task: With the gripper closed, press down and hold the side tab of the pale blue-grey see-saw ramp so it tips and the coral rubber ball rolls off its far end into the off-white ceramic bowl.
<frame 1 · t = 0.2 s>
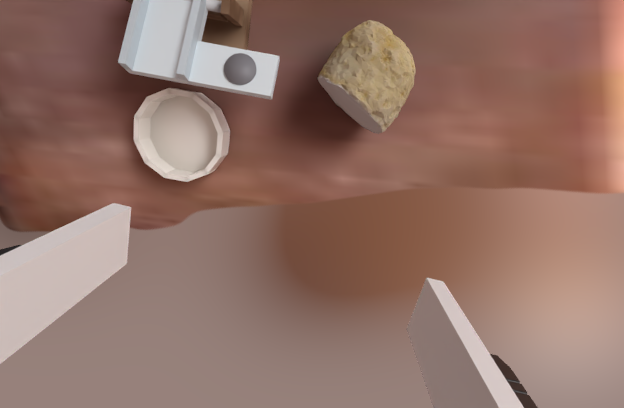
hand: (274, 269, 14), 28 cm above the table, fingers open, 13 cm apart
bowl: (188, 134, 41), on the table
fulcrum: (196, 12, 37), on the table
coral: (365, 83, 38), on the table
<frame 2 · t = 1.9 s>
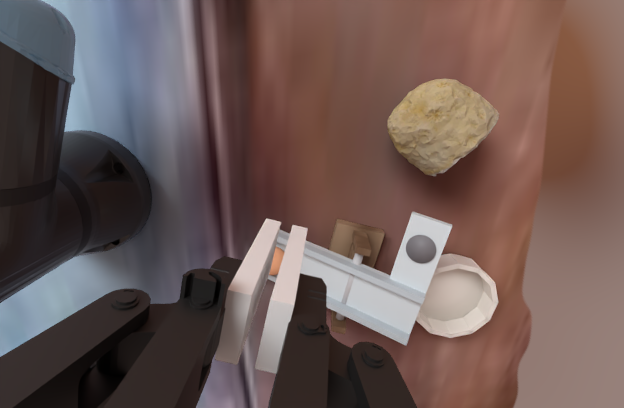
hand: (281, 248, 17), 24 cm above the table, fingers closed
bowl: (446, 288, 44), on the table
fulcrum: (347, 265, 44), on the table
ball: (272, 260, 40), point 3 cm above the table, tilted 6°, touching lever
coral: (426, 120, 38), on the table
lever: (338, 258, 38), point 5 cm above the table, hinge at -22.1°, touching ball
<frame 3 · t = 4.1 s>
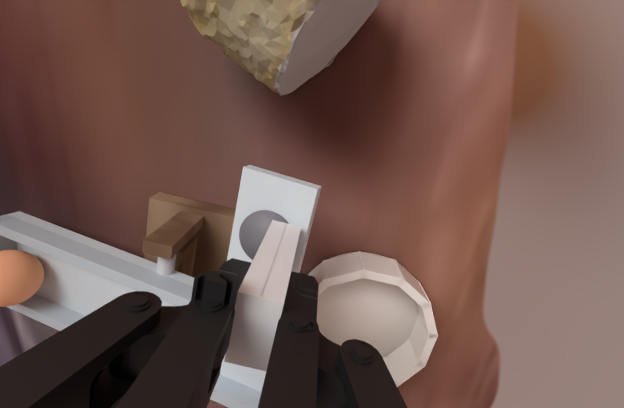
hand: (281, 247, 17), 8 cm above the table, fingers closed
bowl: (358, 310, 26), on the table
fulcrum: (190, 273, 26), on the table
ball: (8, 277, 21), point 5 cm above the table, touching lever
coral: (296, 3, 20), on the table
lever: (125, 265, 20), point 5 cm above the table, hinge at -13.5°, touching ball, gripper
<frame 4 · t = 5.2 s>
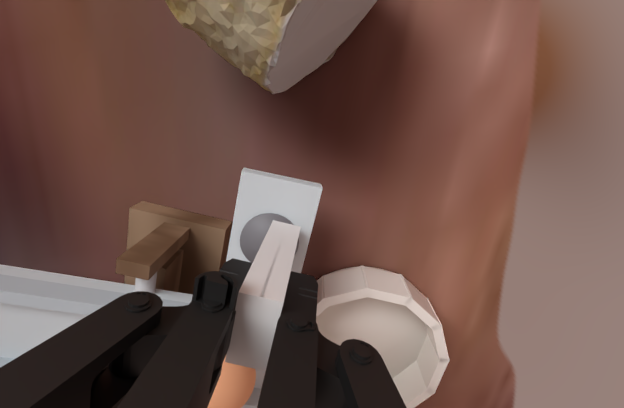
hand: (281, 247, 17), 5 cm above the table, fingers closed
bowl: (360, 329, 24), on the table
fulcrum: (177, 288, 24), on the table
ball: (222, 378, 18), point 7 cm above the table, tilted 137°, touching lever
lever: (96, 294, 17), point 6 cm above the table, hinge at 5.9°, touching ball, gripper
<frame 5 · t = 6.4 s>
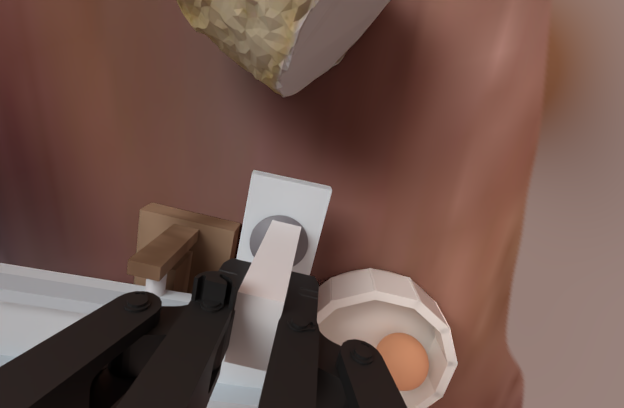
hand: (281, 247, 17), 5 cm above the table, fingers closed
bowl: (367, 331, 24), on the table
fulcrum: (185, 289, 24), on the table
ball: (401, 360, 22), point 2 cm above the table, tilted 140°, touching bowl
lever: (107, 294, 17), point 6 cm above the table, hinge at 6.2°
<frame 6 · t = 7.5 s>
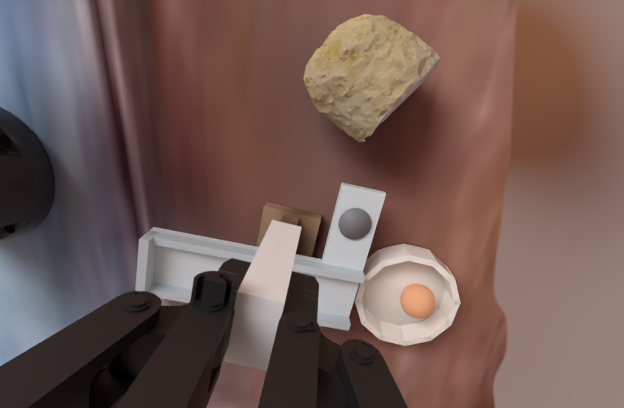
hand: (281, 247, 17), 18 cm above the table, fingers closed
bowl: (401, 286, 37), on the table
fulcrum: (283, 258, 37), on the table
ball: (417, 300, 35), point 2 cm above the table, tilted 117°, touching bowl
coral: (365, 80, 31), on the table
lever: (258, 252, 30), point 6 cm above the table, hinge at 6.2°
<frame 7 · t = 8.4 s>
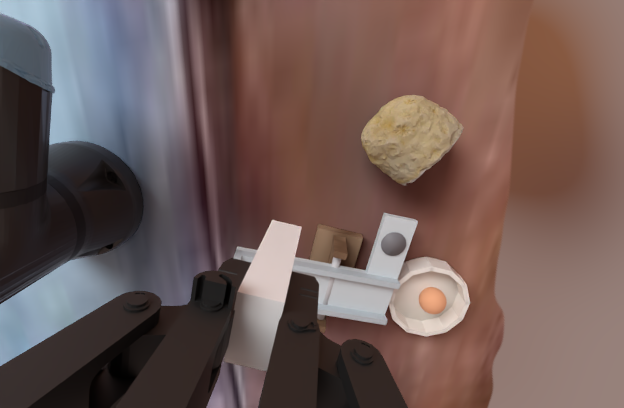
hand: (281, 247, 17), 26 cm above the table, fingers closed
bowl: (422, 290, 46), on the table
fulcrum: (329, 268, 46), on the table
ball: (432, 300, 44), point 2 cm above the table, tilted 98°, touching bowl
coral: (400, 132, 41), on the table
lever: (320, 266, 39), point 6 cm above the table, hinge at 6.2°
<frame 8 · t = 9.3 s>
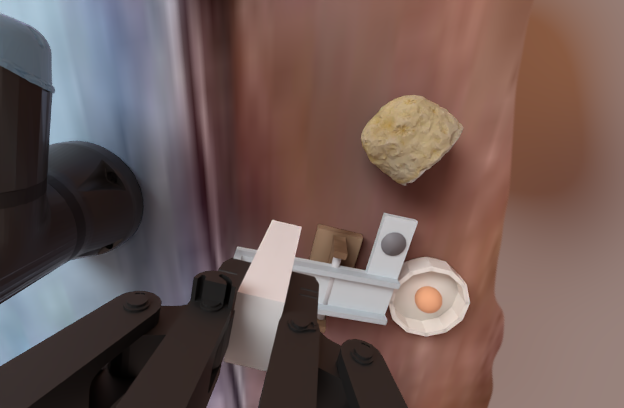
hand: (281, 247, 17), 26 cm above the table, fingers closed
bowl: (422, 290, 46), on the table
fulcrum: (329, 268, 46), on the table
ball: (428, 299, 44), point 2 cm above the table, tilted 79°, touching bowl
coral: (400, 132, 41), on the table
lever: (320, 266, 39), point 6 cm above the table, hinge at 6.2°
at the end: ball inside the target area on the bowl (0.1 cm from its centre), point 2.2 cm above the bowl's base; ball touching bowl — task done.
